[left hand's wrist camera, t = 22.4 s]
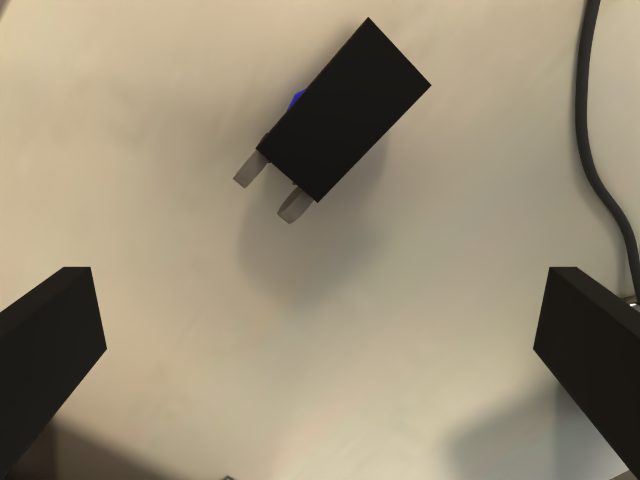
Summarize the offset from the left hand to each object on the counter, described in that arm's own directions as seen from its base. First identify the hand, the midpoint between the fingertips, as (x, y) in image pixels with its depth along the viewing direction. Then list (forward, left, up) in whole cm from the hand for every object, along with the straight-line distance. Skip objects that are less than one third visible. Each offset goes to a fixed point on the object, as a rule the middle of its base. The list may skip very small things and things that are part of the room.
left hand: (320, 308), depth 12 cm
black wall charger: (-3, 0, -26) cm, 26 cm away
